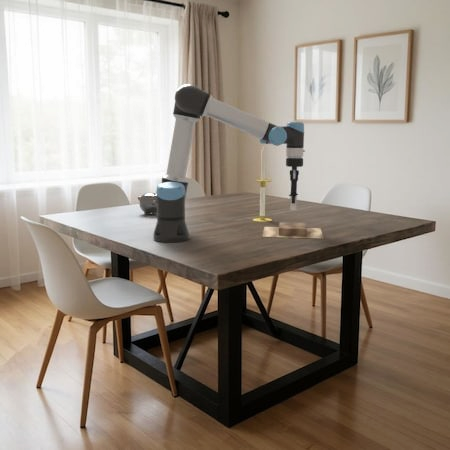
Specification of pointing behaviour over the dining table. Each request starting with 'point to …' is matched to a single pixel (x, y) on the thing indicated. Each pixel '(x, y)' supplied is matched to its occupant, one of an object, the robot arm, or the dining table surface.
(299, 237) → the light wooden board
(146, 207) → the piggy bank
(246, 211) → the dining table surface
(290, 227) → the panel
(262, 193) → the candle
